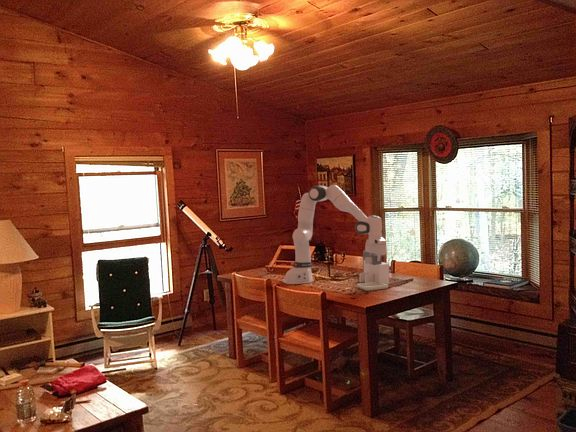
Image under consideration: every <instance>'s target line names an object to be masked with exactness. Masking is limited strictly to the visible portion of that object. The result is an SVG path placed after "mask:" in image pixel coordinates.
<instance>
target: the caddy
mask: <svg viewBox="0 0 576 432" xmlns="http://www.w3.org/2000/svg"><path fill="white" fill-rule="evenodd" d="M377 257H378V256H377V254H376V255H370V257H365V264H369V263H370V264H372V265H379V264H382V262H383V261H382V259H383V258H382V257H383V255H381V257H380V261H377V260H376V258H377Z"/></svg>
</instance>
